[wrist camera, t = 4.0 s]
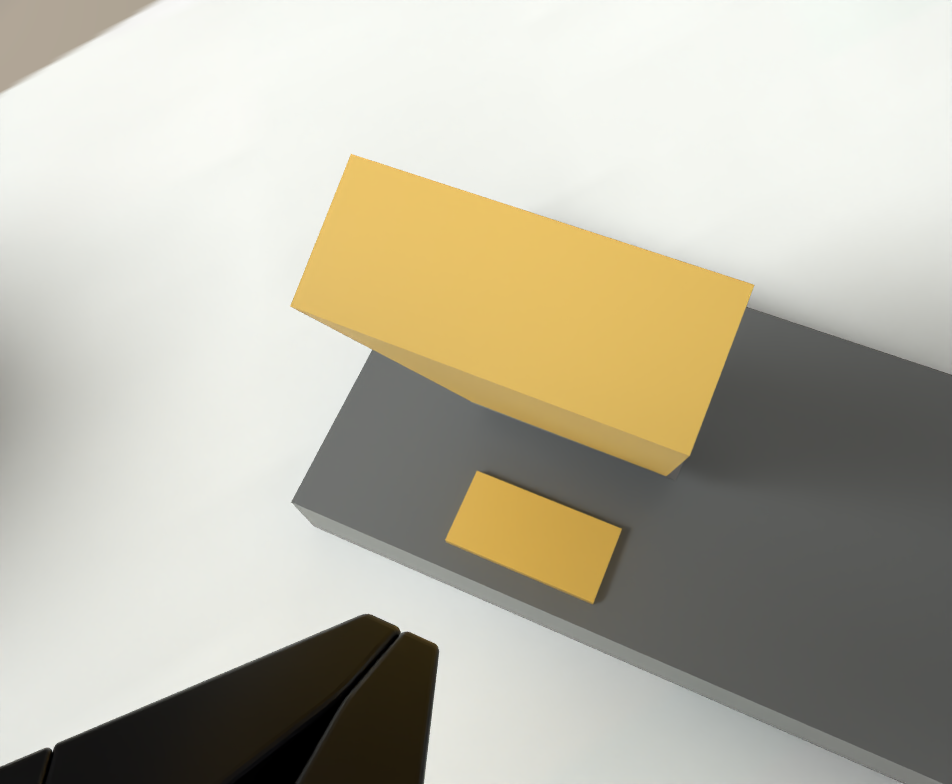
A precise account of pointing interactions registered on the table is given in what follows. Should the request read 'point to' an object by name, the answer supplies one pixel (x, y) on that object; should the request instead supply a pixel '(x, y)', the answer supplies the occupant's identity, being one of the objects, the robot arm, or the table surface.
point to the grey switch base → (697, 534)
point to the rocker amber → (525, 313)
